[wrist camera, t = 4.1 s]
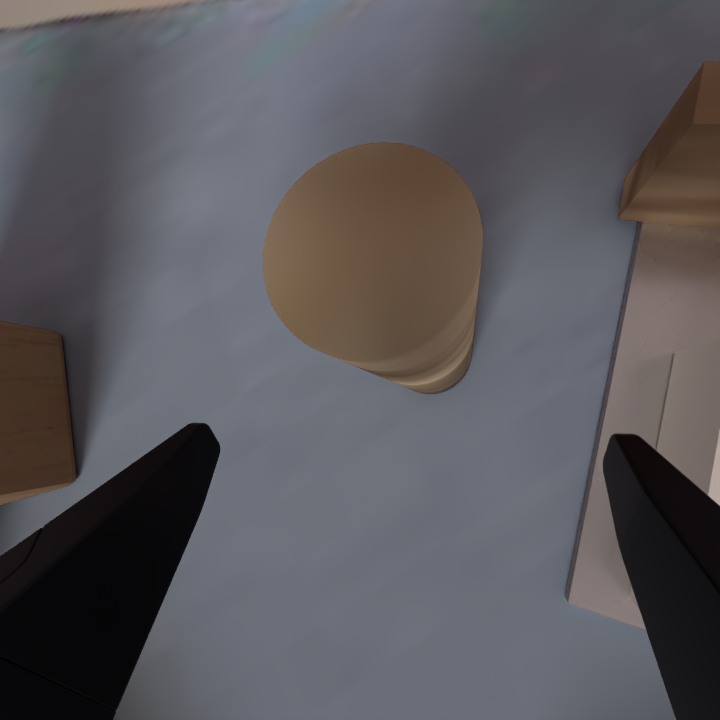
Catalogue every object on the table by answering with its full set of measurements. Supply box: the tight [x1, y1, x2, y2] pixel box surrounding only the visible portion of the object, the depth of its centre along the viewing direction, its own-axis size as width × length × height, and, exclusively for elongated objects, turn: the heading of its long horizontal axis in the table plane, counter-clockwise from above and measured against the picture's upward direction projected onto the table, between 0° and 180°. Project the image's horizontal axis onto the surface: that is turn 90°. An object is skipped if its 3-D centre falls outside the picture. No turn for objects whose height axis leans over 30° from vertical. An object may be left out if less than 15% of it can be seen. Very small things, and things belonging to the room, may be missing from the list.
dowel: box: [263, 142, 483, 394], centre depth 13 cm, size 4×4×13 cm
